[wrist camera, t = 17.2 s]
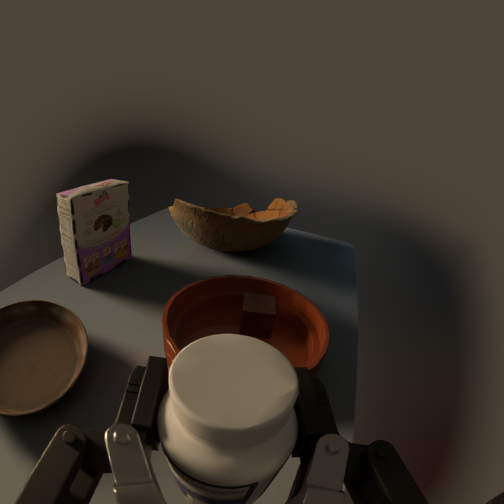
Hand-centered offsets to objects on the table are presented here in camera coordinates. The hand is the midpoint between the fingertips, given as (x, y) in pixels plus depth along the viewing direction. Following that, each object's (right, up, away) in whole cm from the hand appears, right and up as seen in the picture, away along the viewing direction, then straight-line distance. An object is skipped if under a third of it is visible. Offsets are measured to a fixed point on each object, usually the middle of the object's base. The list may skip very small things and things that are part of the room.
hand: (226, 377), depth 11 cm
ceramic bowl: (-4, +7, +57) cm, 57 cm away
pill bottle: (-1, -7, +1) cm, 7 cm away
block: (+2, -6, +29) cm, 30 cm away
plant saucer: (-28, -9, +14) cm, 33 cm away
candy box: (-29, +2, +38) cm, 48 cm away
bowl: (0, -8, +26) cm, 27 cm away
